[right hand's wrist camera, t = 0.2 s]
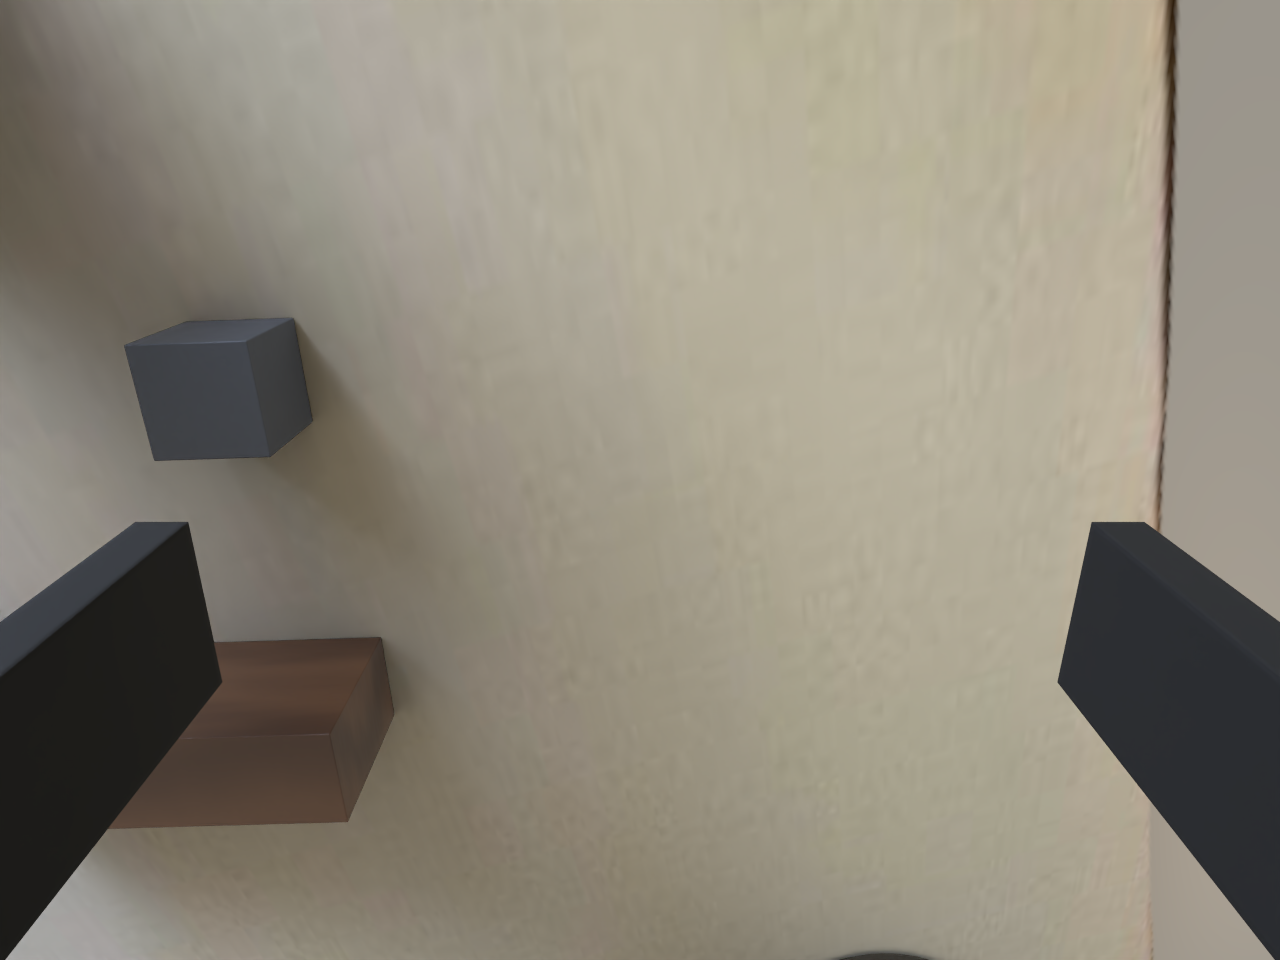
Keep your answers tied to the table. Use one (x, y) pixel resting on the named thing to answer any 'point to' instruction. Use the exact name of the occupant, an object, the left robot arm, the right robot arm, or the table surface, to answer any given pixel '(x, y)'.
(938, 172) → the table surface
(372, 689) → the brown rectangular block
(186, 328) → the slate grey block
